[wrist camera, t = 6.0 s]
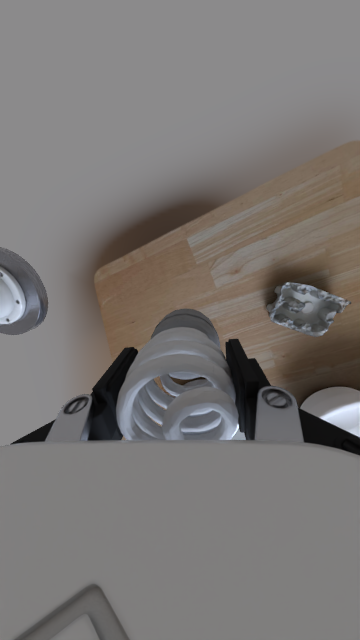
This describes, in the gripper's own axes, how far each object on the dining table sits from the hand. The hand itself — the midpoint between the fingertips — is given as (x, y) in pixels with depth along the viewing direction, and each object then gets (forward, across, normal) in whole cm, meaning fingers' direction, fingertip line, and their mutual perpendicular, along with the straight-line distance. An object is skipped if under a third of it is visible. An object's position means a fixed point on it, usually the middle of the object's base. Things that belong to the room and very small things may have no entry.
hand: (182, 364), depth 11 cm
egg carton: (+23, -19, +4) cm, 30 cm away
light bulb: (+7, 0, 0) cm, 7 cm away
